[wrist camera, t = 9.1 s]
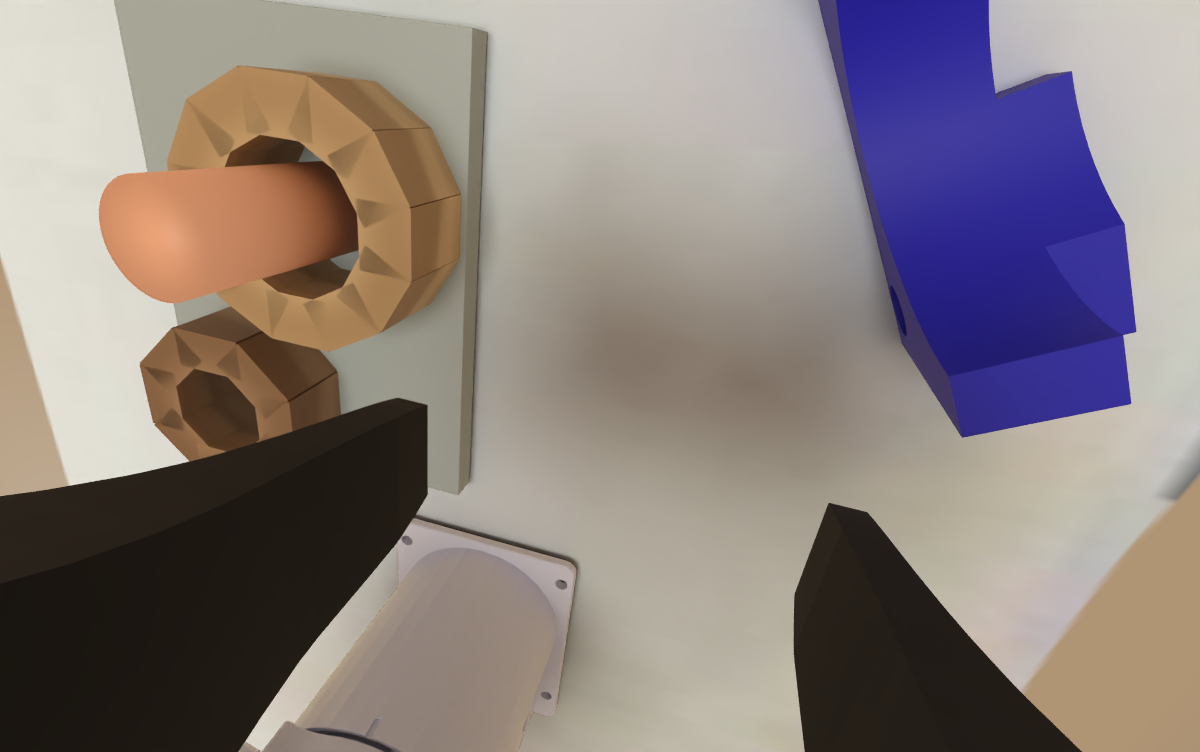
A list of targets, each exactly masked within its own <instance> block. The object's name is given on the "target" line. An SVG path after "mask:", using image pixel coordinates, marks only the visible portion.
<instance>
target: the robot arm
mask: <svg viewBox="0 0 1200 752" xmlns="http://www.w3.org/2000/svg"><path fill="white" fill-rule="evenodd" d="M427 495H428V405H426V404H422V403H418V402H414V401H410V400H406V399H402V398H394V399H390V400H386V401H382V402H379V403H375V404H372V405H369V406H366V407H363V408H360V409H357V410H354V411H351V412H348V413H345V414H342V415H339V416H336V417H333V418H330V419H327V420H324V421H321V422H318V423H316V424H313V425H310V426H307V427H304V428H301V429H298V430H295V431H292V432H289V433H286V434H283V435H280V436H276V437H273V438H270V439H266V440H263V441H260V442H257V443H253V444H250V445H247V446H243V447H240V448H237V449H234V450H230V451H227V452H224V453H220V454H217V455H213V456H209V457H206V458H202V459H198V460H194V461H190V462H186V463H182V464H178V465H173V466H169V467H164V468H160V469H156V470H151V471H147V472H143V473H138V474H133V475H128V476H123V477H117V478H111V479H106V480H100V481H94V482H89V483H83V484H77V485H72V486H66V487H61V488H55V489H49V490H42V491H36V492H29V493H21V494H14V495H6V496H0V752H260V750H258V749H257V748H255V747H253V746H252V745H250V744H248V743H246V742H245V741H246V739H247V738H248V736H249V735H250V733H251V732H252V730H253V729H254V727H255V726H256V724H257V723H258V721H259V719H260V718H261V716H262V715H263V713H264V712H265V711H266V709H267V708H268V706H269V705H270V703H271V702H272V700H273V699H274V697H275V696H276V695H277V693H278V692H279V690H280V689H281V687H282V686H283V684H284V683H285V681H286V680H287V679H288V677H289V676H290V674H291V673H292V671H293V670H294V668H295V667H296V665H297V664H298V663H299V661H300V660H301V659H302V657H303V656H304V655H305V653H306V652H307V651H308V650H309V648H310V647H311V646H312V644H313V643H314V642H315V641H316V639H317V638H318V637H319V636H320V634H321V633H322V632H323V631H324V630H325V628H326V627H327V626H328V625H329V624H330V622H331V621H332V620H333V619H334V618H335V616H336V615H337V614H338V613H339V612H340V611H341V609H342V608H343V607H344V606H345V605H346V603H347V602H348V601H349V600H350V599H351V597H352V596H353V595H354V594H355V593H356V592H357V590H358V589H359V588H360V587H361V586H362V584H363V583H364V582H365V581H366V580H367V578H368V577H369V576H370V575H371V574H372V572H373V571H374V570H375V569H376V568H377V566H378V565H379V564H380V563H381V562H382V560H383V559H384V558H385V557H386V556H387V554H388V553H389V552H390V551H391V549H392V548H393V547H394V546H395V544H396V543H397V552H398V587H397V589H396V590H395V591H394V593H393V594H392V595H391V597H390V598H389V599H388V601H387V602H386V603H385V605H384V606H383V607H382V609H381V610H380V611H379V613H378V614H377V615H376V617H375V618H374V619H373V621H372V622H371V623H370V625H369V626H368V627H367V629H366V630H365V631H364V633H363V634H362V635H361V636H360V638H359V639H358V640H357V642H356V643H355V644H354V646H353V647H352V648H351V650H350V651H349V652H348V654H347V655H346V656H345V658H344V659H343V660H342V662H341V663H340V664H339V666H338V667H337V668H336V670H335V671H334V672H333V674H332V675H331V676H330V678H329V679H328V680H327V682H326V683H325V684H324V686H323V687H322V688H321V689H320V691H319V692H318V693H317V695H316V696H315V697H314V699H313V700H312V701H311V703H310V704H309V705H308V707H307V708H306V709H305V711H304V712H303V713H302V715H301V716H300V717H299V719H298V720H297V721H296V723H295V724H293V723H292V722H290V721H287V722H284V724H283V725H282V726H281V728H280V729H279V730H278V732H277V733H276V734H275V735H274V737H273V738H272V739H271V741H270V742H269V743H268V744H267V746H266V747H265V748H264V750H263V751H262V752H518V749H519V746H520V744H521V741H522V738H523V736H524V733H525V730H526V728H527V725H528V722H529V720H530V717H531V714H532V712H534V713H537V714H540V715H543V716H551V715H553V714H554V712H555V709H556V706H557V700H558V693H559V687H560V680H561V673H562V667H563V660H564V653H565V647H566V640H567V633H568V627H569V620H570V613H571V606H572V600H573V593H574V586H575V580H576V568H575V566H574V565H573V564H572V563H570V562H568V561H566V560H562V559H559V558H555V557H551V556H548V555H544V554H541V553H537V552H533V551H530V550H526V549H523V548H519V547H515V546H512V545H508V544H505V543H501V542H498V541H494V540H490V539H487V538H483V537H480V536H476V535H472V534H469V533H465V532H462V531H458V530H455V529H451V528H447V527H444V526H440V525H437V524H433V523H429V522H426V521H422V520H419V519H415V518H414V516H415V515H416V513H417V511H418V510H419V508H420V506H421V505H422V503H423V501H424V500H425V498H426V496H427ZM408 536H409V537H410V538H411V539H410V538H409V537H408ZM560 580H563V581H565V582H566V583H563V582H561V581H560ZM794 659H795V669H796V678H797V688H798V697H799V706H800V714H801V723H802V731H803V740H804V749H805V752H1082V751H1080V749H1078V748H1077V747H1076V746H1075V745H1074V744H1073V743H1072V742H1071V741H1070V740H1069V739H1068V738H1067V737H1066V736H1065V735H1064V734H1063V733H1062V732H1061V731H1060V730H1059V729H1058V728H1057V727H1056V726H1055V725H1054V724H1053V723H1052V722H1051V721H1050V720H1049V719H1048V718H1046V716H1044V715H1043V714H1042V713H1041V712H1040V711H1039V710H1038V709H1037V708H1036V707H1035V706H1034V705H1033V704H1032V703H1031V702H1030V701H1029V700H1028V699H1027V698H1026V697H1025V696H1024V695H1023V694H1022V693H1021V692H1020V691H1019V690H1018V689H1017V688H1016V687H1015V686H1014V685H1013V684H1012V682H1011V681H1010V680H1009V679H1008V678H1007V677H1006V676H1005V675H1004V674H1003V673H1002V672H1001V671H1000V670H999V669H998V667H997V666H996V665H995V664H994V663H993V662H992V661H991V660H990V659H989V658H988V657H987V655H986V654H985V653H984V652H983V651H982V650H981V649H980V648H979V647H978V646H977V645H976V643H975V642H974V641H973V640H972V639H971V638H970V637H969V636H968V635H967V633H966V632H965V631H964V630H963V629H962V628H961V626H960V625H959V624H958V623H957V622H956V621H955V620H954V618H953V617H952V616H951V615H950V614H949V612H948V611H947V610H946V609H945V608H944V607H943V605H942V604H941V603H940V602H939V601H938V599H937V598H936V597H935V596H934V594H933V593H932V592H931V591H930V590H929V588H928V587H927V586H926V585H925V583H924V582H923V581H922V580H921V579H920V577H919V576H918V575H917V574H916V572H915V571H914V570H913V569H912V567H911V566H910V565H909V563H908V562H907V561H906V560H905V558H904V557H903V556H902V555H901V553H900V552H899V551H898V550H897V548H896V547H895V546H894V544H893V543H892V542H891V541H890V539H889V538H888V537H887V536H886V534H885V533H884V532H883V531H882V529H881V528H880V527H879V526H878V524H877V523H876V522H875V521H874V520H873V518H872V517H871V516H870V515H869V514H868V513H867V512H864V511H860V510H856V509H852V508H848V507H844V506H839V505H835V504H831V503H828V506H827V509H826V511H825V514H824V517H823V519H822V522H821V525H820V528H819V530H818V533H817V536H816V538H815V541H814V544H813V546H812V549H811V552H810V554H809V557H808V560H807V562H806V565H805V568H804V570H803V573H802V576H801V578H800V581H799V584H798V586H797V589H796V592H795V598H794Z"/></svg>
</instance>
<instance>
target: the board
mask: <svg viewBox="0 0 1200 752" xmlns="http://www.w3.org/2000/svg"><path fill="white" fill-rule="evenodd" d="M114 3H115V8H116V13H117V18H118V24H119V29H120V34H121V39H122V44H123V49H124V54H125V59H126V64H127V69H128V74H129V79H130V84H131V89H132V95H133V100H134V105H135V110H136V115H137V120H138V125H139V130H140V135H141V140H142V145H143V150H144V155H145V161H146V166H147V171H148V172H160V171H168V167H167V163H168V162H167V159H168V156H169V153H170V150H171V146H172V143H173V140H174V137H175V133H176V130H177V127H178V124H179V120H180V117H181V114H182V111H183V108H184V104H185V101H186V100H187V98H189V97H190V96H192V95H193V94H195V93H196V92H198V91H199V90H201V89H202V88H204V87H205V86H207V85H208V84H210V83H211V82H213V81H214V80H216V79H218V78H219V77H221V76H222V75H224V74H225V73H227V72H228V71H230V70H231V69H233V68H234V67H236V66H238V65H240V66H251V67H262V68H273V69H284V70H294V71H305V72H316V73H323V74H329V75H336V76H342V77H349V78H356V79H362V80H369V81H375V82H378V83H379V84H380V85H381V86H382V87H384V88H385V89H386V90H387V91H388V92H390V93H391V94H392V95H393V96H394V97H395V98H397V99H398V100H399V101H400V102H401V103H403V104H404V105H405V106H406V107H407V108H409V109H410V110H411V111H412V112H413V113H415V114H416V115H417V116H418V117H419V118H420V119H422V120H423V121H424V122H425V123H426V124H428V125H429V126H430V127H431V128H432V130H433V133H434V135H435V137H436V139H437V141H438V144H439V146H440V148H441V150H442V152H443V155H444V157H445V159H446V161H447V163H448V166H449V168H450V170H451V172H452V174H453V177H454V179H455V181H456V183H457V186H458V188H459V190H460V192H461V225H460V258H459V260H458V262H457V263H456V265H455V266H454V268H453V270H452V271H451V273H450V274H449V276H448V277H447V279H446V280H445V282H444V284H443V285H442V287H441V288H440V290H439V291H438V293H437V294H436V296H435V298H434V299H433V301H432V302H431V304H429V305H427V306H426V307H424V308H422V309H421V310H419V311H417V312H415V313H414V314H412V315H410V316H409V317H407V318H405V319H403V320H402V321H400V322H398V323H397V324H395V325H393V326H392V327H390V328H388V329H386V330H385V331H383V332H381V333H379V334H377V335H374V336H371V337H369V338H366V339H363V340H360V341H358V342H355V343H352V344H350V345H347V346H344V347H342V348H339V349H336V350H334V351H331V352H328V351H324V350H320V351H321V352H322V354H323V355H324V356H325V357H326V358H327V359H328V360H329V362H330V363H331V364H332V365H333V366H334V367H335V369H336V370H337V371H336V372H338V380H339V394H340V407H341V415H342V414H345V413H348V412H351V411H354V410H357V409H360V408H363V407H366V406H369V405H372V404H375V403H379V402H382V401H386V400H390V399H394V398H402V399H406V400H410V401H414V402H418V403H422V404H426V405H428V487H430V488H434V489H437V490H441V491H445V492H448V493H452V494H456V495H459V494H460V492H461V491H462V490H463V488H464V487H465V486H466V485H467V483H468V482H469V475H470V450H471V425H472V400H473V374H474V349H475V324H476V299H477V274H478V248H479V223H480V198H481V173H482V147H483V122H484V97H485V72H486V46H487V32H484V31H481V30H477V29H474V28H468V27H461V26H453V25H446V24H438V23H431V22H423V21H415V20H408V19H400V18H393V17H385V16H377V15H370V14H362V13H355V12H347V11H339V10H332V9H324V8H317V7H309V6H301V5H294V4H286V3H279V2H271V1H263V0H114ZM311 161H322V160H321V159H320V158H319V157H317V156H316V155H315V154H314V153H313V152H311V151H310V150H309V149H308V148H306V147H304V150H303V152H302V154H301V157H300V159H299V161H298V162H311ZM358 258H359V250H358V251H355V252H351V253H348V254H344V255H341V256H338V257H334V258H331V259H330V260H331V261H332V262H333V263H335V264H336V265H337V266H338V267H340V268H341V269H346V270H350V271H352V269H353V267H354V265H355V263H356V261H357V259H358ZM228 307H230V305H229V304H227V303H226V302H225V301H223V300H222V299H221V298H220V297H219V295H217V294H216V292H215V293H212V294H209V295H205V296H202V297H198V298H195V299H192V300H188V301H185V302H181V303H174V308H175V313H176V318H177V323H178V326H179V325H181V324H184V323H187V322H190V321H192V320H195V319H198V318H200V317H203V316H206V315H209V314H211V313H214V312H217V311H219V310H222V309H225V308H228Z"/></svg>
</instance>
